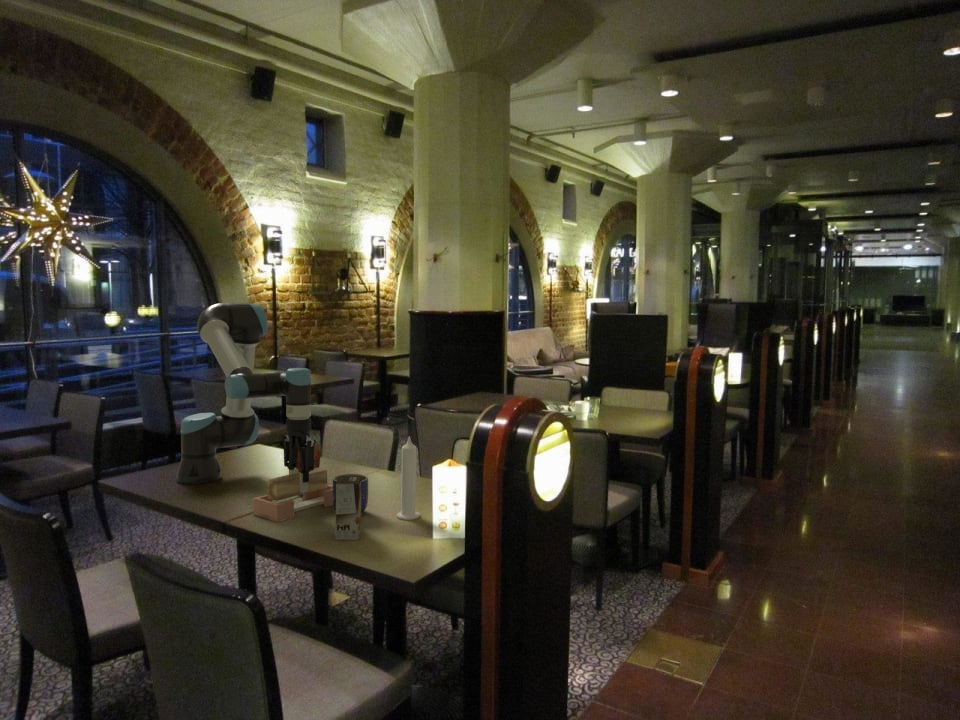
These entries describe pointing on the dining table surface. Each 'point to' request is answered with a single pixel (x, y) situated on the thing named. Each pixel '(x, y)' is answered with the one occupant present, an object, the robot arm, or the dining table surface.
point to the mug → (316, 458)
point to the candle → (408, 483)
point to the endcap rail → (291, 504)
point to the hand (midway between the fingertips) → (298, 490)
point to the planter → (363, 490)
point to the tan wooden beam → (295, 484)
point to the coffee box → (348, 507)
